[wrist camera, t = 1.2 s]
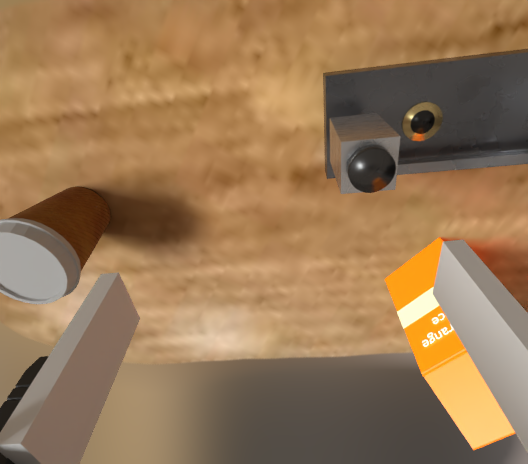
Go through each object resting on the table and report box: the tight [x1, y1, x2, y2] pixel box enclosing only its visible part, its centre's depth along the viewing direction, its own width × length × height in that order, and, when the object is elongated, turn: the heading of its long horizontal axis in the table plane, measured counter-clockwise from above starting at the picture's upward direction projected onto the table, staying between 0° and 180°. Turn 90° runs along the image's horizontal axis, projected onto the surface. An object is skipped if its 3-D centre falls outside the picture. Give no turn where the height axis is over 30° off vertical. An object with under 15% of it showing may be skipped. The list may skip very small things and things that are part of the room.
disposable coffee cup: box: [0, 187, 111, 304], centre depth 36 cm, size 10×10×12 cm
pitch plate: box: [323, 49, 528, 179], centre depth 28 cm, size 28×10×13 cm, turn 97°
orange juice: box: [385, 237, 515, 450], centre depth 35 cm, size 8×9×20 cm
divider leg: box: [330, 113, 400, 194], centre depth 28 cm, size 4×4×10 cm
